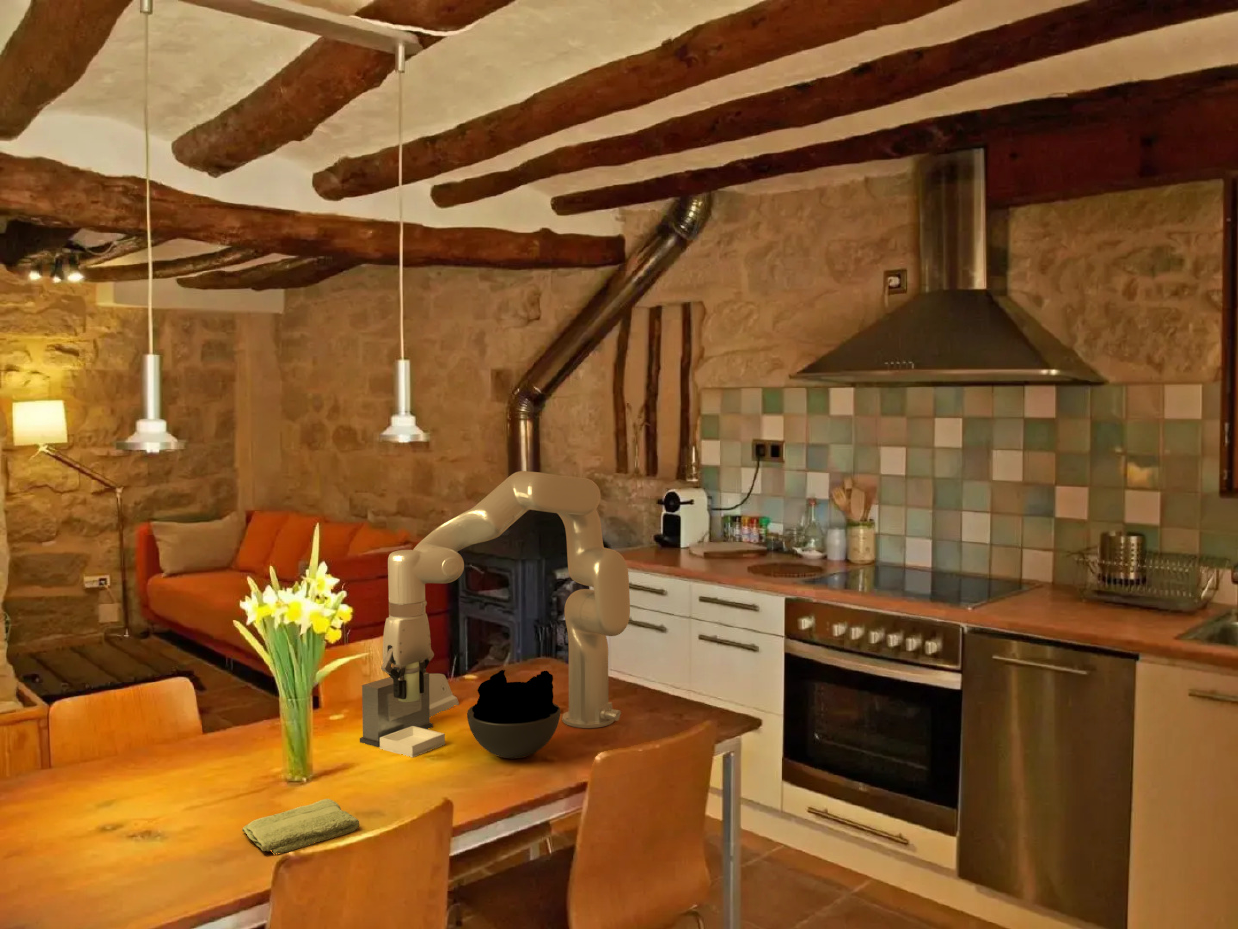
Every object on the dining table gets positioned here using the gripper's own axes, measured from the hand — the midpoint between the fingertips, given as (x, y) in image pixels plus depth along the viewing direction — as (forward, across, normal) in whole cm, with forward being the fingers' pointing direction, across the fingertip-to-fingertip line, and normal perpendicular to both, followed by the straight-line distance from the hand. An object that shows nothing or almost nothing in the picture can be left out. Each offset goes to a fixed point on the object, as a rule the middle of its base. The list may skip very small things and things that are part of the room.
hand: (408, 694), depth 217 cm
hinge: (+15, -29, -23) cm, 40 cm away
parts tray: (+15, -8, -7) cm, 18 cm away
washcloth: (+15, +36, +10) cm, 40 cm away
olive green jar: (+1, 0, 0) cm, 1 cm away
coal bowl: (+15, -16, +15) cm, 27 cm away
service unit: (+15, -12, -16) cm, 25 cm away
